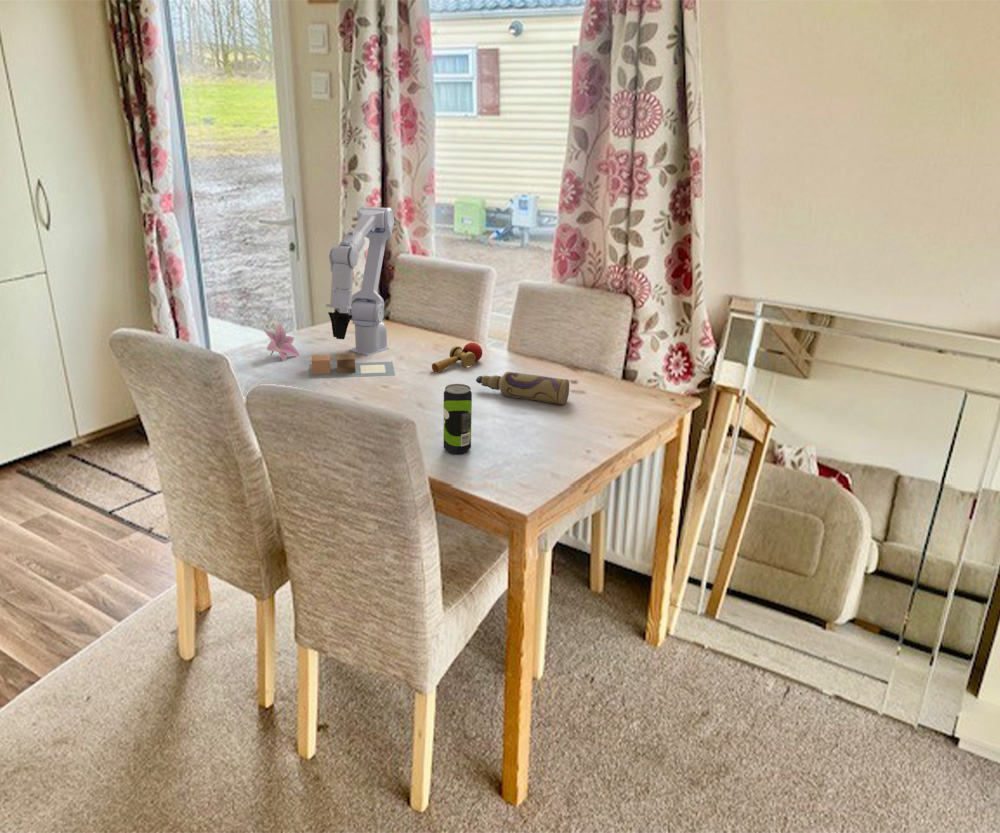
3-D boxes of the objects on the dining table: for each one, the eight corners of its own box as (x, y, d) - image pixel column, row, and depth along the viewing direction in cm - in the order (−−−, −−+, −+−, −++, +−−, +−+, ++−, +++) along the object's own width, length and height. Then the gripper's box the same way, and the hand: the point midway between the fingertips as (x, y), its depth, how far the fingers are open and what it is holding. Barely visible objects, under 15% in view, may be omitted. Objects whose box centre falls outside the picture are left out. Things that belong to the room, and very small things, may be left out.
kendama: (446, 381, 223) (490, 359, 234) (441, 360, 221) (486, 339, 232) (429, 378, 229) (473, 357, 240) (424, 358, 227) (468, 338, 238)
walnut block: (355, 366, 227) (354, 353, 225) (355, 372, 222) (354, 359, 221) (337, 367, 226) (336, 354, 224) (337, 373, 221) (336, 359, 220)
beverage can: (470, 444, 181) (471, 383, 175) (470, 455, 175) (471, 393, 169) (444, 443, 181) (444, 383, 175) (443, 455, 175) (443, 393, 169)
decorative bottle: (570, 399, 209) (572, 376, 207) (562, 409, 203) (564, 385, 200) (481, 384, 218) (482, 362, 215) (471, 393, 211) (471, 370, 209)
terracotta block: (330, 367, 226) (329, 354, 224) (330, 373, 221) (329, 360, 219) (312, 368, 225) (311, 355, 223) (312, 374, 220) (311, 360, 218)
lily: (261, 369, 227) (274, 343, 223) (248, 344, 233) (260, 318, 229) (297, 373, 235) (310, 348, 231) (284, 349, 242) (296, 324, 238)
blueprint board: (392, 362, 232) (392, 361, 232) (395, 376, 221) (395, 375, 221) (309, 365, 228) (309, 364, 228) (308, 379, 217) (308, 378, 217)
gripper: (324, 288, 224) (321, 335, 225) (329, 288, 210) (326, 338, 212) (349, 290, 226) (346, 337, 228) (356, 290, 212) (352, 340, 214)
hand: (338, 338), depth 220 cm, fingers open, 7 cm apart
